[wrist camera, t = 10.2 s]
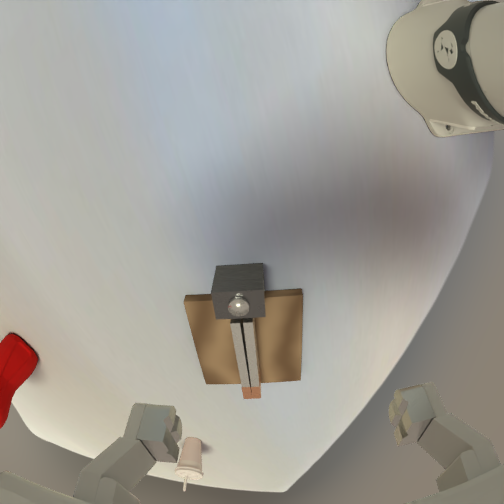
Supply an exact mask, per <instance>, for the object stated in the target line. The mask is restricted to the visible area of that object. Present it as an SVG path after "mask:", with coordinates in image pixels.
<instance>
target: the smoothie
mask: <svg viewBox="0 0 504 504" xmlns="http://www.w3.org/2000/svg"><path fill="white" fill-rule="evenodd" d="M175 474H176V475H177V476H179V477H182V478H185V479H184V486H183V491H186V483H187V479H192V480H197V479H201V478H203V472H202V456H201V440H199V439H197V438H194V437H188V438H186V440H185V443H184V446H183V450H182V453H181V456H180V459H179V462H178V466H177V468H175Z"/></svg>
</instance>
